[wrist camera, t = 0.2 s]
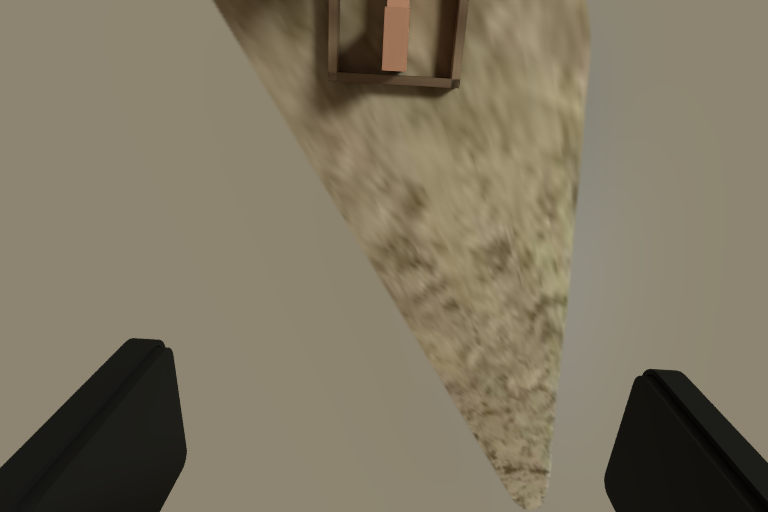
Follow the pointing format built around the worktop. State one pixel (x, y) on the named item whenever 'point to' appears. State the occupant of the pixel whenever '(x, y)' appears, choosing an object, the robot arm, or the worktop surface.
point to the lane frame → (397, 79)
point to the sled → (396, 35)
